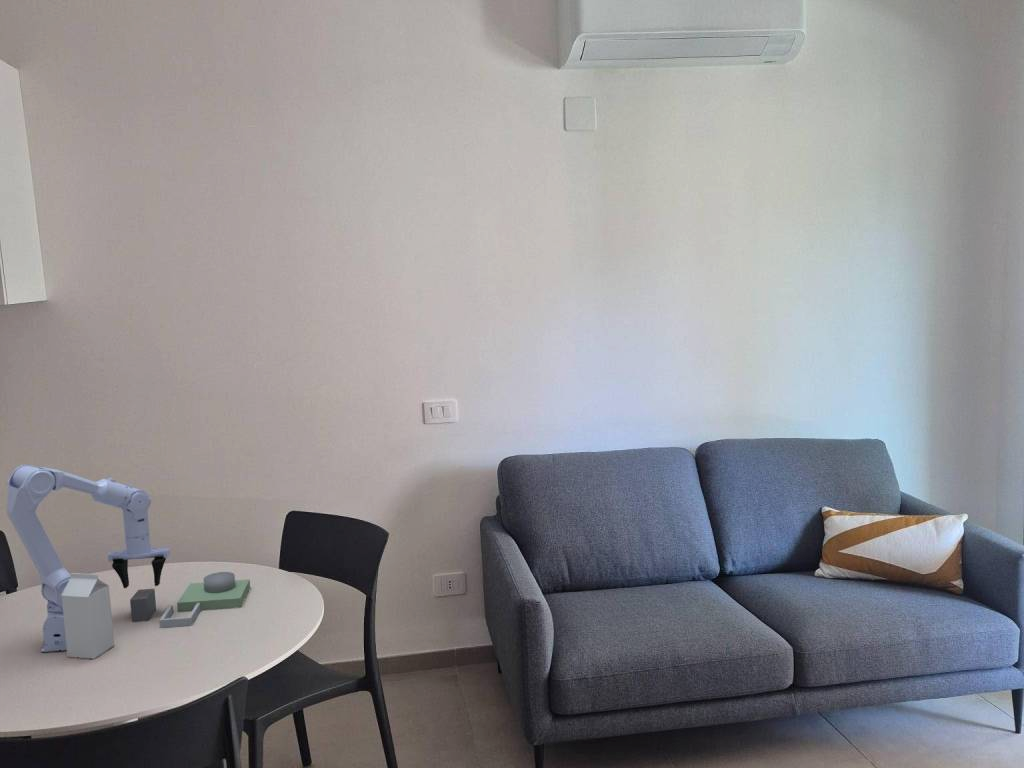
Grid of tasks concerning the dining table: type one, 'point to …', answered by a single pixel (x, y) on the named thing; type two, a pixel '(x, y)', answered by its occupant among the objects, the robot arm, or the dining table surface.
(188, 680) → the dining table surface
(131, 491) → the robot arm
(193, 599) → the green panel
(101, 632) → the milk carton
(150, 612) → the dark gray block
